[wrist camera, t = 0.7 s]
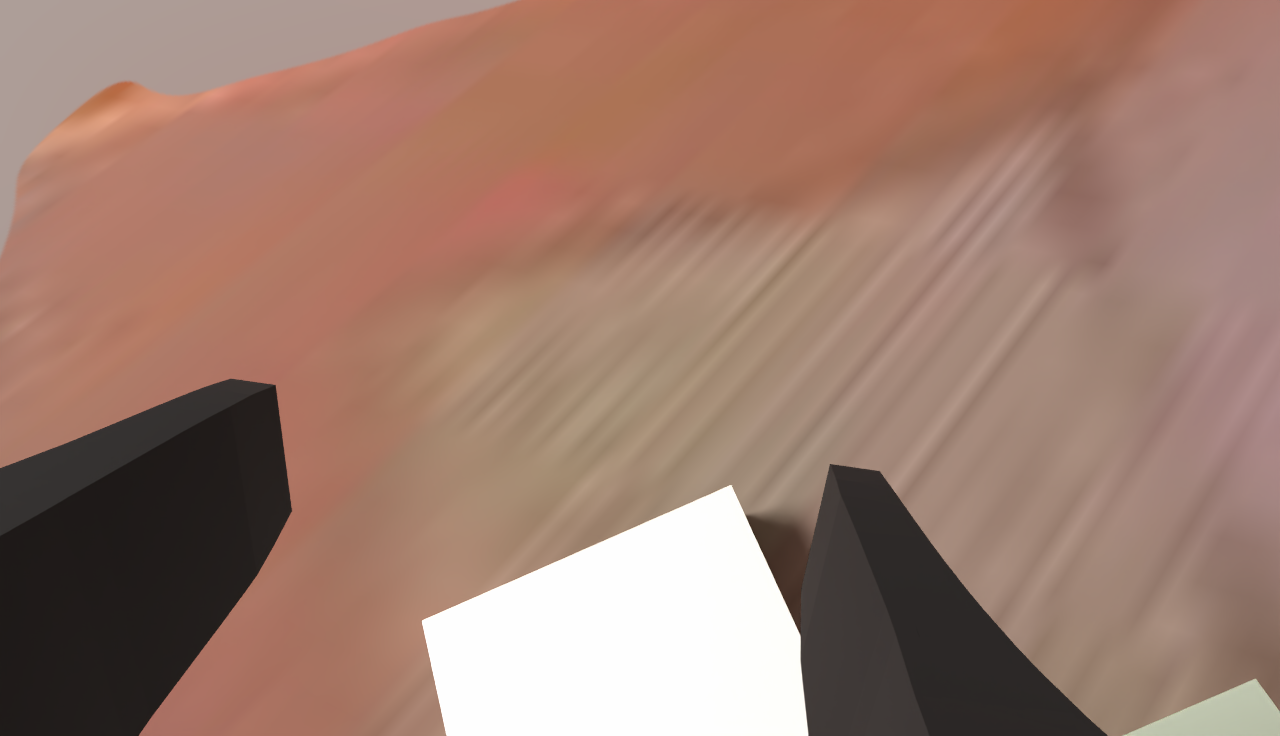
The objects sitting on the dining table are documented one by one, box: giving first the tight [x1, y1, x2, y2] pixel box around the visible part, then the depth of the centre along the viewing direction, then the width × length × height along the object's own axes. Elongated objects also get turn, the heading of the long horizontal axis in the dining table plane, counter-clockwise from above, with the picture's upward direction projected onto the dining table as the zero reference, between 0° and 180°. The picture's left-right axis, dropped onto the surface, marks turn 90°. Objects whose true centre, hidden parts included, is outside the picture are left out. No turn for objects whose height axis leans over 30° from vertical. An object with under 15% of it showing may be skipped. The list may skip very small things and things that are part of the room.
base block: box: [422, 485, 808, 736], centre depth 24 cm, size 10×10×3 cm
